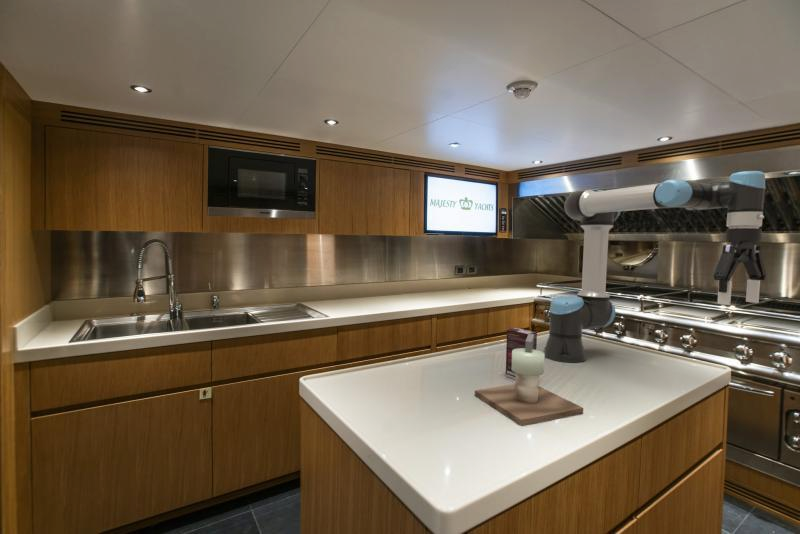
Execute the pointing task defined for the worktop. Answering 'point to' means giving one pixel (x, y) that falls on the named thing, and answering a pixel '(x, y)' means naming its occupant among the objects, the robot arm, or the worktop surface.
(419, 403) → the worktop surface
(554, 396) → the wooden board with post
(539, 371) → the white cylinder
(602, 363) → the worktop surface
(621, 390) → the worktop surface
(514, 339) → the supplement box
